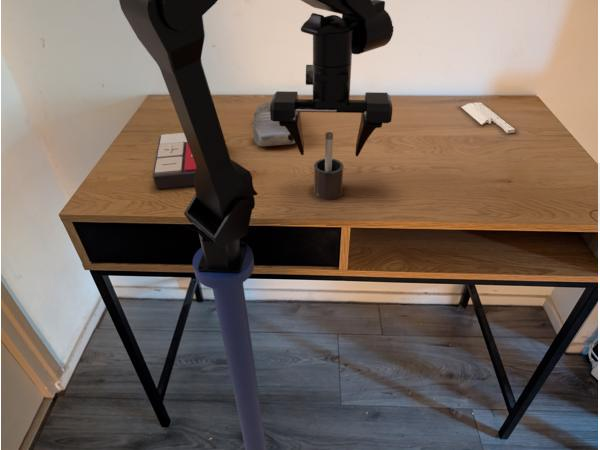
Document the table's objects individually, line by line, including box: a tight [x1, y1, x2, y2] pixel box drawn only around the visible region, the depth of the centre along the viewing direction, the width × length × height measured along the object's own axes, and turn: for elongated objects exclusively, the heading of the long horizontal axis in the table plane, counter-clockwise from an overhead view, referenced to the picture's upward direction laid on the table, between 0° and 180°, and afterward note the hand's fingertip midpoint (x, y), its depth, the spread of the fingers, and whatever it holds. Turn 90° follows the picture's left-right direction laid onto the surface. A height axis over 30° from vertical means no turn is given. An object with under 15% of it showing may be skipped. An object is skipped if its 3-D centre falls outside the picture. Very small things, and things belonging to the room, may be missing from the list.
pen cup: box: [313, 158, 345, 201], centre depth 77 cm, size 5×5×6 cm
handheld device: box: [252, 101, 296, 147], centre depth 97 cm, size 10×20×5 cm, turn 8°
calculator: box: [152, 132, 196, 190], centre depth 85 cm, size 11×4×15 cm
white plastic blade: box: [461, 101, 516, 134], centre depth 100 cm, size 5×15×1 cm, turn 10°
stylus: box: [324, 131, 334, 172], centre depth 75 cm, size 1×1×11 cm
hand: (329, 154), depth 74 cm, fingers open, 9 cm apart
